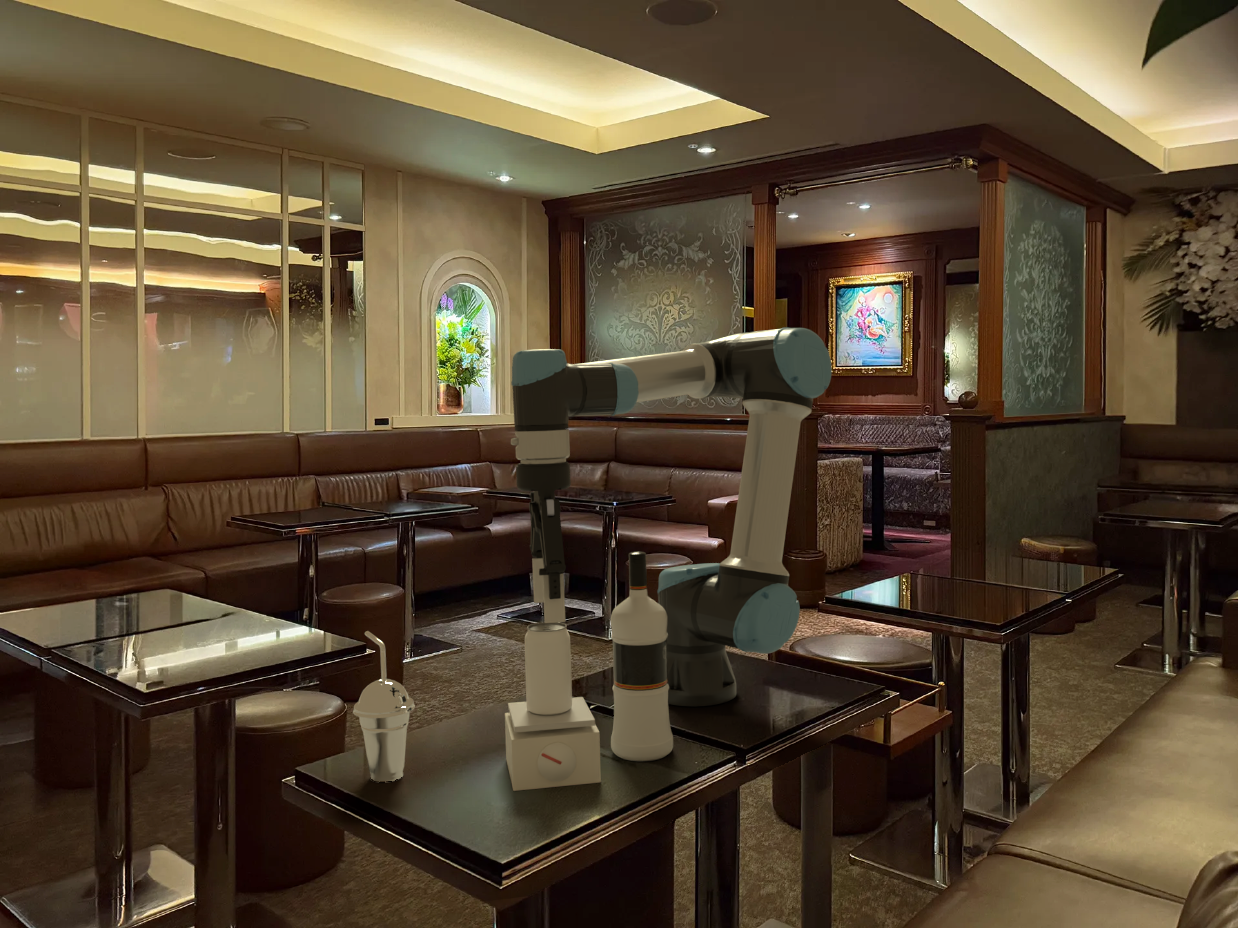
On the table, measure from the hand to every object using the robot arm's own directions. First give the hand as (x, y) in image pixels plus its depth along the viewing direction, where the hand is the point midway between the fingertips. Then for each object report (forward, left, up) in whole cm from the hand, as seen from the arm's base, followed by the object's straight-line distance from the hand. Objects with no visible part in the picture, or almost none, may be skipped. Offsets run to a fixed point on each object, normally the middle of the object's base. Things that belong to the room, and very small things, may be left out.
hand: (548, 611), depth 138 cm
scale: (0, 0, -23) cm, 23 cm away
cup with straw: (+23, -4, -23) cm, 33 cm away
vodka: (-14, -4, -23) cm, 27 cm away
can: (0, -1, -14) cm, 14 cm away
